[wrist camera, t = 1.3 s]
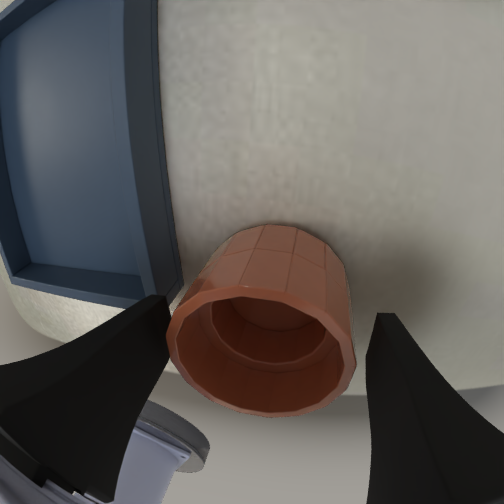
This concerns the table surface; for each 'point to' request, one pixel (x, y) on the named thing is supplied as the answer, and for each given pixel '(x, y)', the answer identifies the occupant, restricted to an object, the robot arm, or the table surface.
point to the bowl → (267, 325)
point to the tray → (84, 152)
